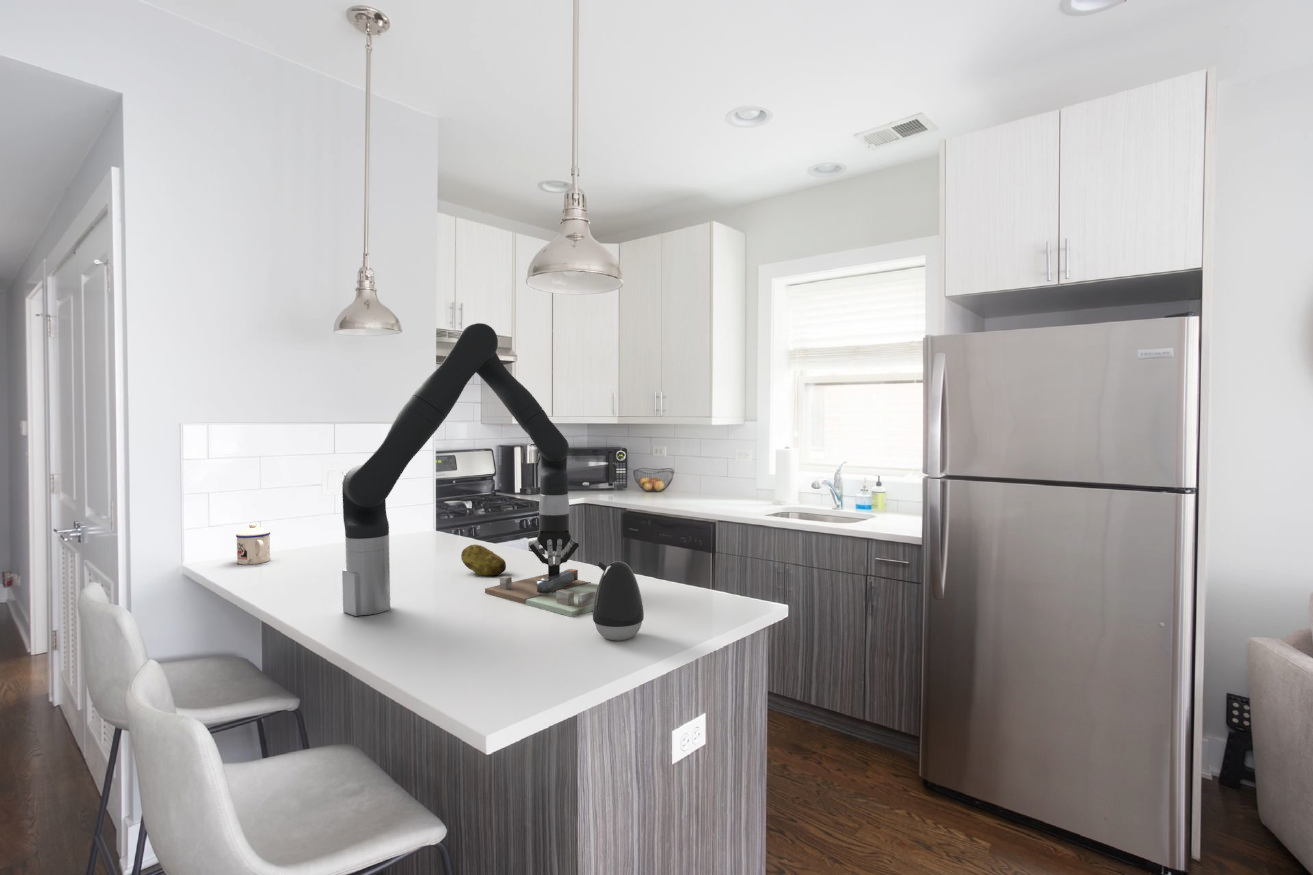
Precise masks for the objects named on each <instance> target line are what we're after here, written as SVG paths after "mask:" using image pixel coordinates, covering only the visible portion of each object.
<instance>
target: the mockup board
mask: <svg viewBox="0 0 1313 875" xmlns="http://www.w3.org/2000/svg"><path fill="white" fill-rule="evenodd" d="M548 577H549V576H548V573H546V574H541V575H537V576H533V577H528V578H524V579H519V580H515V581H512V577H511V576H508V575H504V576H499V585H494V586H490V587H489V586H488V587H486V588H484V593H485V594H486V595H490V596H495V597H497V598H501V599H505V600H508V601H513V602H515V603H519V604H523V605H525V606H526V605H527V606H530V607H533V608H537V609H541V610H545V611H548V612H553V613H555V614H559V615H563V616H566V617H569V618H574V617H576V616H580V615H584V614H586V613H590V612H593V608H594V601H595V596H596V592H597V588H598V585H599V583H595V582H591V581H585V580H581V579H578V580H576V581H573V582H571V583H568V584H566V585H564V586H561V587H559V588H557V589H554V591H553V592H550V593H538V592H537V580H539V579H543V578H548Z"/></svg>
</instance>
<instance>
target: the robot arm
mask: <svg viewBox="0 0 1313 875" xmlns="http://www.w3.org/2000/svg"><path fill="white" fill-rule="evenodd" d="M498 345H499V342H498V334H497V333H496V331H495V329H494V328H493V327H492V326H490V325H488V324H486V323H480V322H478V323H474V324H470V325H468V326H466V327H465V328H464V329H463V330H462V331H461V333H460V335H459V337H458V338H457V341H456V342H455V344H454V345H453V346H452V348H451V350H450V352H449V353H448V354H447V356H446V357H445V359H444V360H443V361H442V362H441V363H440V365H439V366H438V367H437V368H436V369H435V370H434V371H433V372H432V373H431V374H430V375H429V376H428V377H427V378H426V379H425V380H424V381H423V382H422V383H421V384H420V386H419V387H418V388H417V389H416V390H415V391H414V392H413V394H411V396H409V398H408V400H407V401H406V402H405V404H404V405H403V406H402V408H401V409H400V410H399V411H398V413H397V415H396V417H395V419H394V421H393V422H392V424H391V425H390V428H389V431H388V433H387V434H386V436H385V438H384V440H383V442H382V443H381V444H380V445H379V447H378V448H377V450H375V452H373V454H372V455H370V457H369V458H368V459H367V460H366V461H365V463H363V464H359V465H356V466H354V467H352V468H350V469H349V470H348V471H347V472H346V474H345V475H344V477H343V480H342V492H341V493H342V514H343V515H342V516H343V526H344V535H345V536H344V538H345V569H343V570H342V574H341V576H342V582H341V583H342V612H344V613H346V614H349V615H351V616H353V617H359V616H364V615H365V616H369V615H370V616H371V615H376V614H379V613H380V614H381V613H384V612H387V611H388V610H390V609H391V575H390V573H391V570H390V569H391V567H390V561H391V560H390V524H389V519H388V514H387V508H386V504H387V503H386V500H387V498H388V497H389V495H390V493H391V491H392V490H393V489H394V487H395V485H396V484H397V481H398V480H399V479H400V477H401V475H402V474H403V472H404V470H405V469H406V468H407V466H408V464H410V462H411V461H412V460H413V458H414V457H415V456H416V454H418V453H419V452H420V451H421V450H422V448H423V447H424V446H425V445H426V443H427V442H428V441H429V440H430V438H431V437H432V436H433V435H434V434H435V433H436V431H437V430H438V429H439V428H440V426H441V425H442V424H443V423H444V421H445V420H446V419H447V417H448V415H450V412H451V411H452V409H453V408H454V407H455V404H456V403H457V401H458V399H459V398H460V396H461V395H462V392H463V391H464V389H465V387H466V385H468V382H470V380H471V378H472V377H473V376H474V375H475V374H477V375H478V376H479V377H480V378H482V380H483V381H484V382H485V384H487V385H488V387H490V389H491V390H492V391H493V392H494V394H496V396H497V397H498V399H500V401H501V402H502V404H503V405H504V406H505V408H506V409H507V410H508V412H509V413H510V414H511V416H512V417H513V419H514V420H515V421H516V422H517V423H518V425H519V426H520V427H521V428H522V430H524V432H525V433H526V434H528V437H530V439H531V441H532V442H533V444H534V445H535V447H536V448H537V449H538V451H539V455H540V456H539V459H540V480H539V482H540V483H539V501H538V502H539V503H538V504H539V506H538V514H539V515H538V534H537V536H536V539H535V540H533V542H530V543H529V549H530V550H531V551H532V552H533V554H534V555H535V556H536V557H537V559H538V560H539V561H540V562H541V564H545V565H547V568H548V570H547V574H548V576H549V577H550V576H553V575H555V574H558V573H560V572H561V571H560V570H561V568H560V567H561V565H562V564H565V563H567V562H568V561H569V560H570V558H571V557H572V556H573V554H574V553H575V552H576V550H577V549H578V548H579V542H578V541H576V540H574V539H573V538H572V535H571V533H570V501H569V500H570V499H569V477H568V472H567V464H568V454H569V448H570V447H569V442H568V440H567V439H566V438H565V437H566V436H564V435H563V434H562V432H561V431H560V430H559V429H558V428H557V426H555V424H554V423H553V422H552V421H551V420H550V418H549V416H548V414H547V413H546V411H545V410H544V409H543V407H542V406H541V405H540V403H539V402H538V400H537V399H536V398H535V397H534V396H533V394H532V393H531V392H530V391H529V390H528V389H527V388H526V387H525V386H524V385H523V384H522V383H521V382H520V381H518V380H517V378H515V377H514V376H513V375H512V374H511V372H509V370H508V369H507V368H506V367H505V366H504V364H503V361H501V359H500V357H499V354H497V349H498ZM540 545H541V547H542V548H543V550H544V551H545V552H546V554H547V557H545V555H544V554H543V553H542V552H541V550H540ZM567 545H568V549H567V550H566V551H565V553H564V554H563V555H562V551H563V550H565V548H566V547H567ZM561 556H562V557H561Z"/></svg>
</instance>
